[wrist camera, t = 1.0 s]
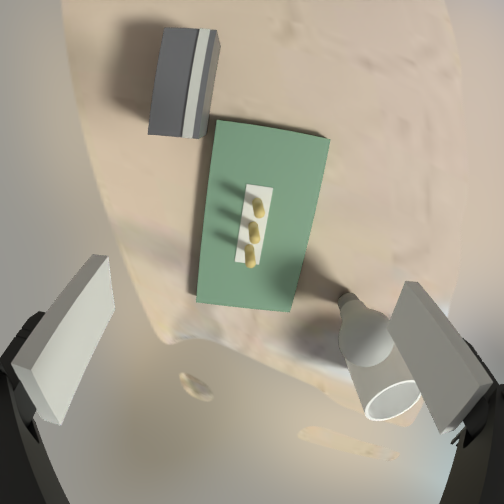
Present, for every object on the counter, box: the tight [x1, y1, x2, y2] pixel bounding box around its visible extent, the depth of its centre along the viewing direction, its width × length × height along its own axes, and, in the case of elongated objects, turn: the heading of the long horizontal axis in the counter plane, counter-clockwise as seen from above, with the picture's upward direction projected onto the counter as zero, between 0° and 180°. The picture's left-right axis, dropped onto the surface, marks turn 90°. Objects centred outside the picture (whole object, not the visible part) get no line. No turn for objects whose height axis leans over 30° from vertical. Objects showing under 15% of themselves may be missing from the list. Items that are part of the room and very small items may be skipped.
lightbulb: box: [338, 293, 394, 367], centre depth 32 cm, size 6×6×11 cm
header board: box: [196, 120, 330, 312], centre depth 31 cm, size 20×11×5 cm, turn 171°
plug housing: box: [148, 28, 221, 139], centre depth 24 cm, size 9×4×6 cm, turn 171°
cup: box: [345, 343, 421, 421], centre depth 37 cm, size 8×12×10 cm
